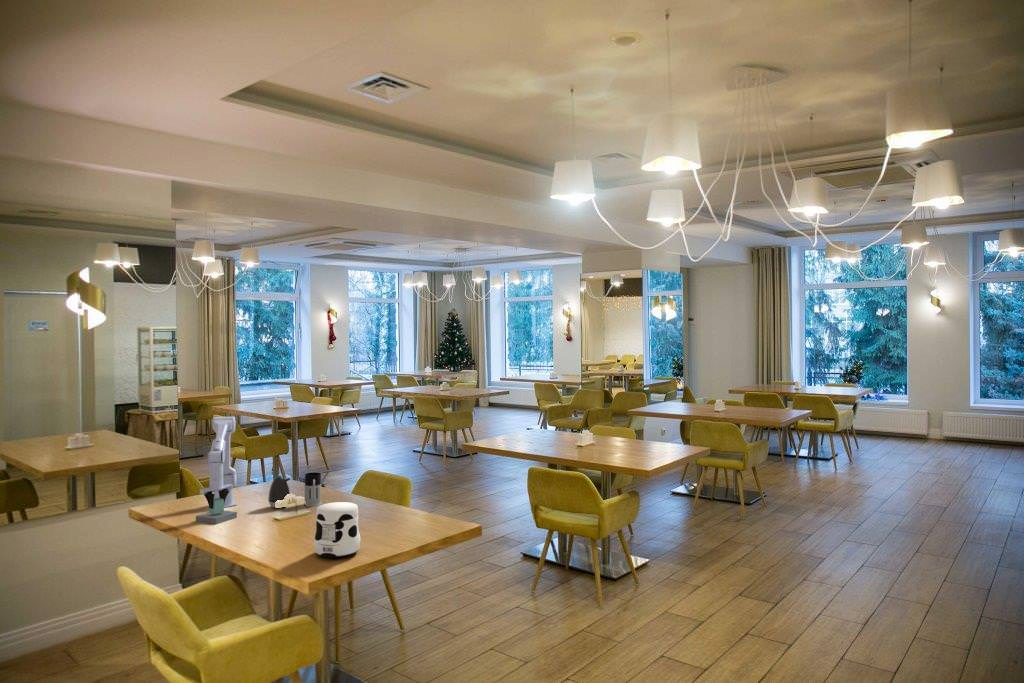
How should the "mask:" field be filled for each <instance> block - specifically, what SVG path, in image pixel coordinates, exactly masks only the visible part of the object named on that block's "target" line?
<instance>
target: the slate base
mask: <svg viewBox="0 0 1024 683" xmlns="http://www.w3.org/2000/svg"><path fill="white" fill-rule="evenodd" d="M237 518H238V512H237V511H232V510H225V509H224V513H219V514H211V513H209V511H207V512H204V513H201V514H197V515H195V522H199V523H205V524H212V525H218V524H221V523H224V522H227V521H230V520H231V521H232V520H233V519H237Z"/></svg>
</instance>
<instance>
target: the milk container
mask: <svg viewBox="0 0 1024 683" xmlns="http://www.w3.org/2000/svg"><path fill="white" fill-rule="evenodd" d="M315 515H316V516H315V517H316V520H315V526H316V528H315V535H314V537H313V539H314V540H313V548H314V552H315V554H316V555H318V556H320V557H323V558H330V559H331V558H332V559H337V558H344V557H349V556H351V555H354V554H355V553H357V552H358V551H359V549H360V547H361V542H362V541H361V533H360V531H359V506H358V504H356V503H354V502H349V501H347V502H346V501H340V502H339V501H338V502H328V503H324V504H323V503H322V505H319V506H317V508H316V513H315Z"/></svg>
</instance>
